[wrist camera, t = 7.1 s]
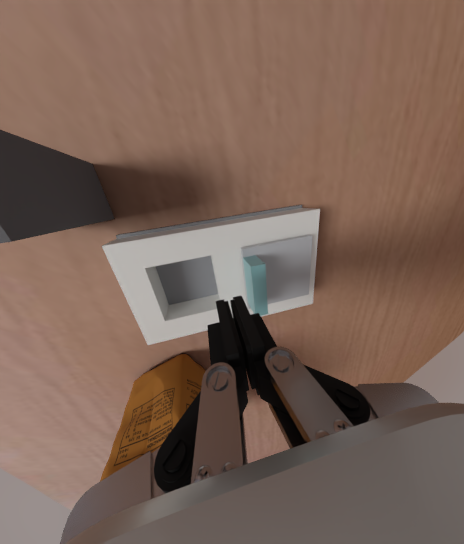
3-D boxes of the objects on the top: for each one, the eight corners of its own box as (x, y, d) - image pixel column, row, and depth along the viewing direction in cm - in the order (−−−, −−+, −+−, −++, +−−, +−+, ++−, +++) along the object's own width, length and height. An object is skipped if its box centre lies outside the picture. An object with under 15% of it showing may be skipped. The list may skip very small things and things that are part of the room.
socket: (299, 204, 19) (320, 205, 16) (296, 291, 24) (312, 305, 21) (118, 234, 16) (99, 242, 13) (155, 325, 21) (148, 347, 18)
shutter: (308, 234, 17) (331, 240, 14) (305, 291, 19) (323, 306, 17) (240, 247, 16) (249, 257, 13) (247, 305, 18) (256, 323, 16)
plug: (92, 163, 14) (-242, 39, 3) (114, 219, 16) (-53, 255, 5) (31, 170, 14) (-616, 46, 3) (62, 226, 15) (-252, 286, 5)
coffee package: (169, 416, 28) (112, 908, 9) (125, 373, 23) (-288, 1399, 3) (223, 391, 29) (287, 807, 9) (191, 344, 24) (178, 1101, 4)
